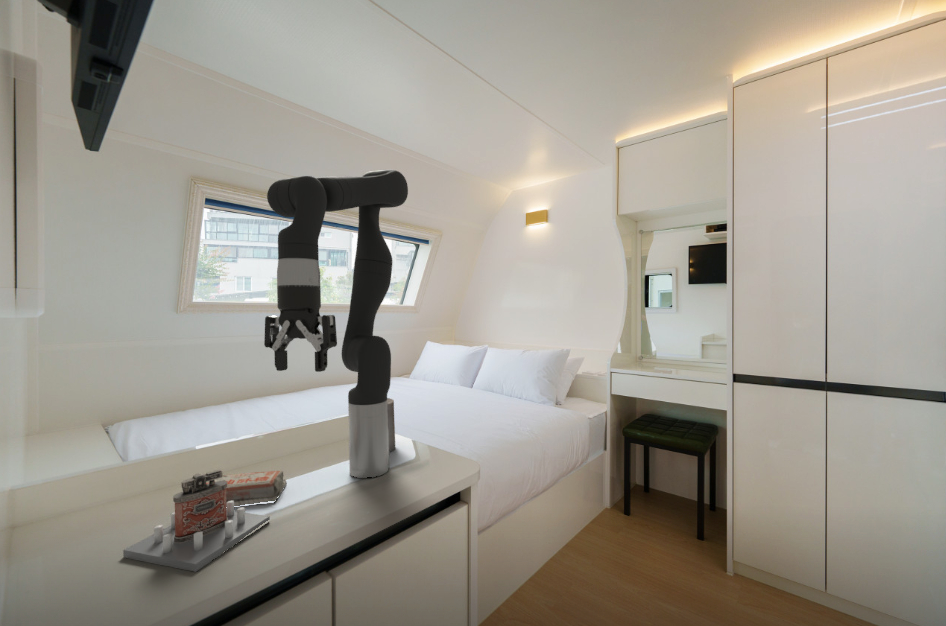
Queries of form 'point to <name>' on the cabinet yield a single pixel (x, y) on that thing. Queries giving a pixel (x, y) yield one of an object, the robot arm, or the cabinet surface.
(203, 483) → the lighter
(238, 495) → the packaged product
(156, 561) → the pin tray
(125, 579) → the cabinet surface
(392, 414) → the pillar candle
